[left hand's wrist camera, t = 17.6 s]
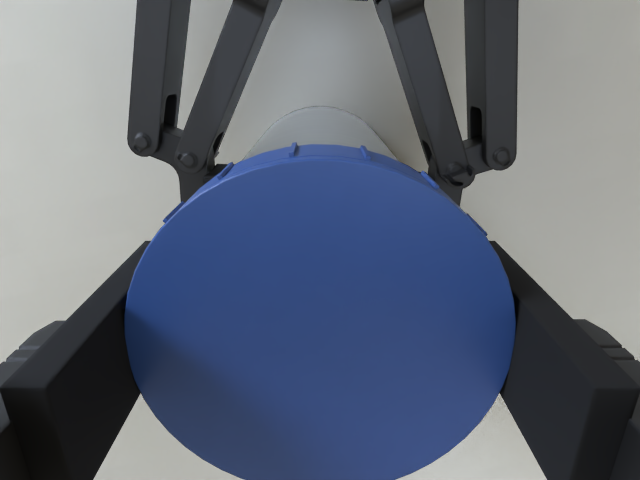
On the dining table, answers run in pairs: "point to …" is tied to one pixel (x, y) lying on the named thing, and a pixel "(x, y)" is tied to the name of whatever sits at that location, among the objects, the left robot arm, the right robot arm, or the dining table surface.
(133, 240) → the dining table surface
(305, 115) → the jar
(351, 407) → the lid
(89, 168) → the dining table surface
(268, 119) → the dining table surface
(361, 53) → the dining table surface
